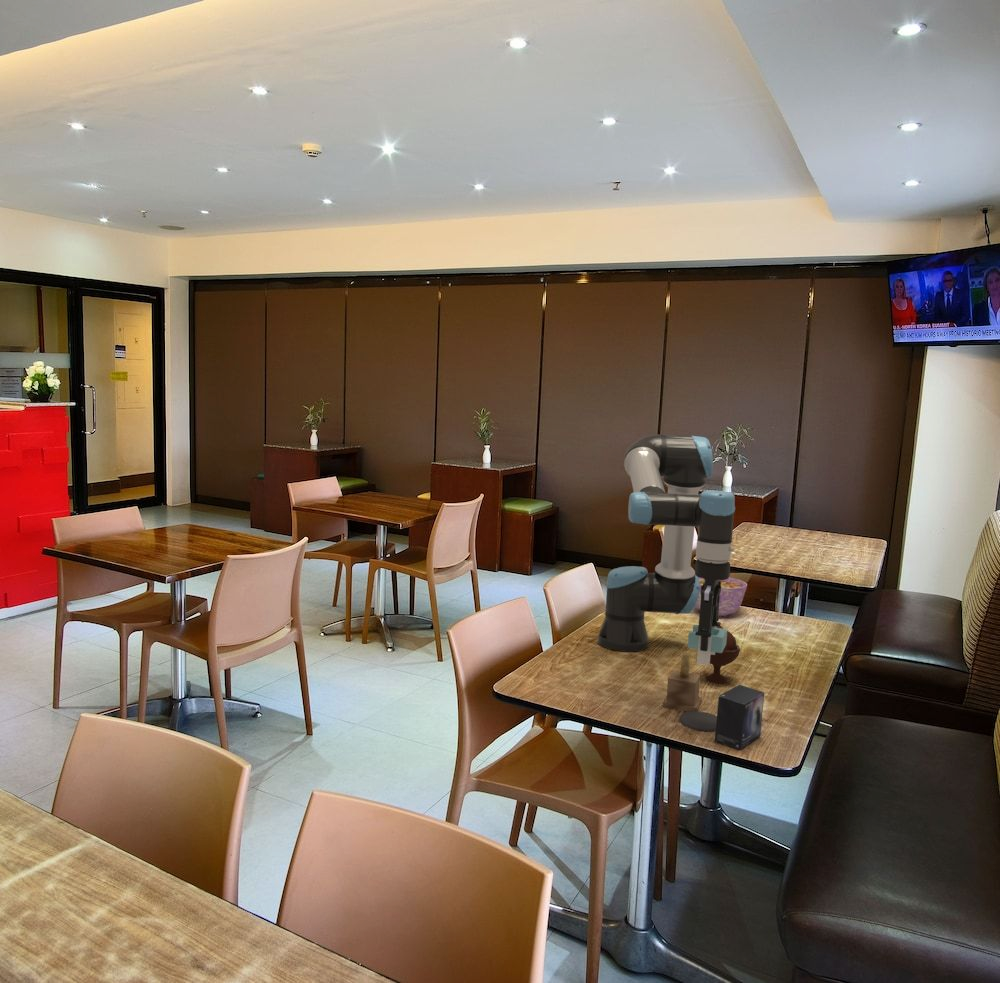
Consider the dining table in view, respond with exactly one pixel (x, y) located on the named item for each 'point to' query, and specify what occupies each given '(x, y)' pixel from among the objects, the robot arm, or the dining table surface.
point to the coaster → (699, 720)
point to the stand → (683, 688)
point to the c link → (716, 643)
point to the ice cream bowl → (723, 659)
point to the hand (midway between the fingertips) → (706, 658)
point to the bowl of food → (727, 595)
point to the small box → (739, 716)
